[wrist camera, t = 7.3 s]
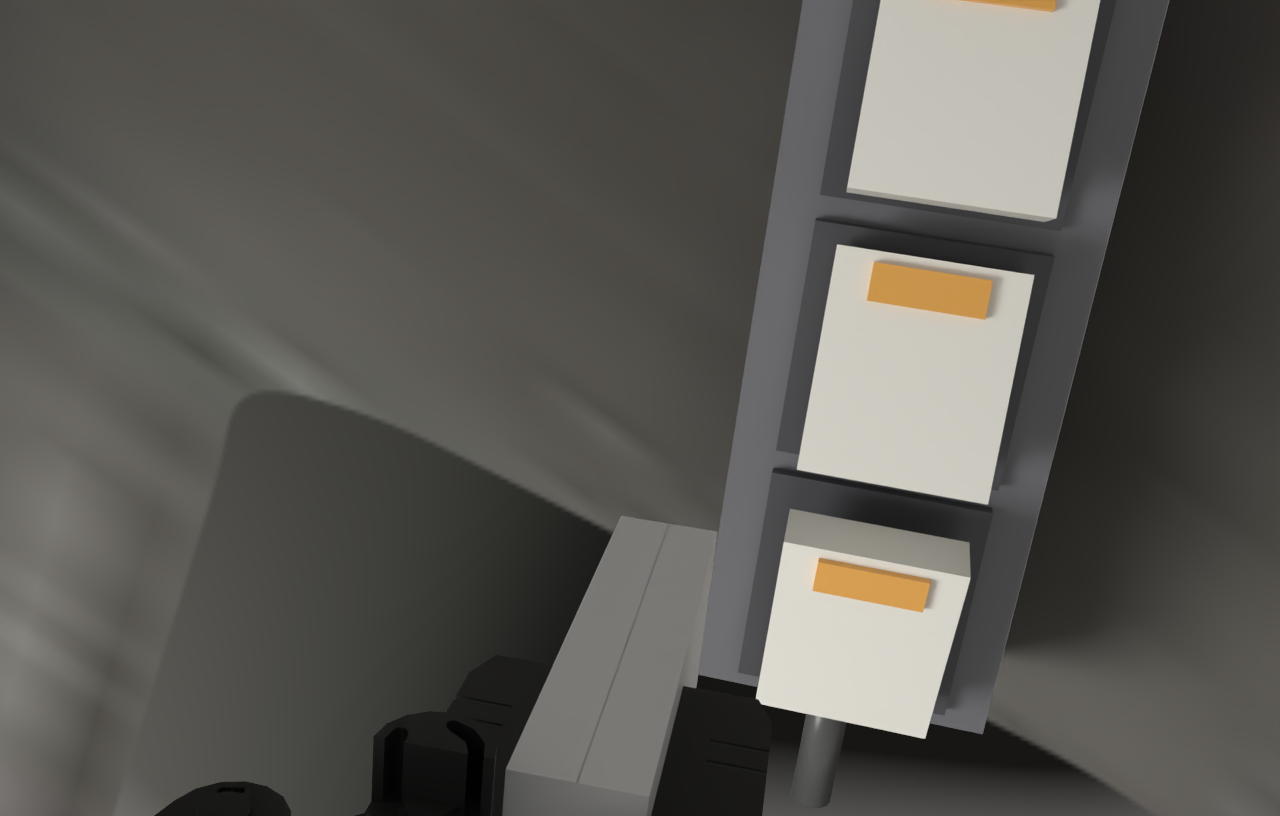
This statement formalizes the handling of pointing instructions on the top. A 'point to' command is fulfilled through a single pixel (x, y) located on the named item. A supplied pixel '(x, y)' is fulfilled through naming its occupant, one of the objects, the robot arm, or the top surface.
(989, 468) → the rocker
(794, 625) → the rocker
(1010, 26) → the rocker
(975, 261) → the power strip
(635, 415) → the top surface
